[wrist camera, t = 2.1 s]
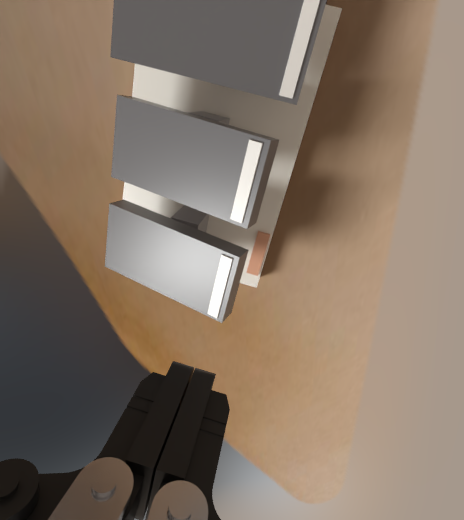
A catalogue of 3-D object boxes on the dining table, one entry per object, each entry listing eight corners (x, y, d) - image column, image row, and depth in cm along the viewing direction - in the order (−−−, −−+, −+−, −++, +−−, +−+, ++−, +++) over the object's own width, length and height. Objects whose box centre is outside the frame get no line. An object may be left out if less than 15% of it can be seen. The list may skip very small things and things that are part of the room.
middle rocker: (133, 96, 17) (115, 94, 16) (279, 139, 15) (270, 140, 14) (126, 174, 19) (109, 177, 18) (256, 222, 17) (246, 229, 16)
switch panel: (155, -29, 18) (115, -67, 14) (338, 15, 18) (351, -11, 14) (127, 240, 25) (96, 266, 21) (258, 277, 25) (251, 311, 21)
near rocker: (124, -60, 13) (117, -74, 12) (318, 2, 14) (328, -5, 13) (116, 58, 15) (110, 56, 14) (290, 103, 16) (297, 105, 15)
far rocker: (124, 199, 20) (108, 203, 19) (248, 250, 17) (238, 258, 16) (118, 259, 22) (103, 267, 20) (231, 312, 19) (221, 323, 18)
